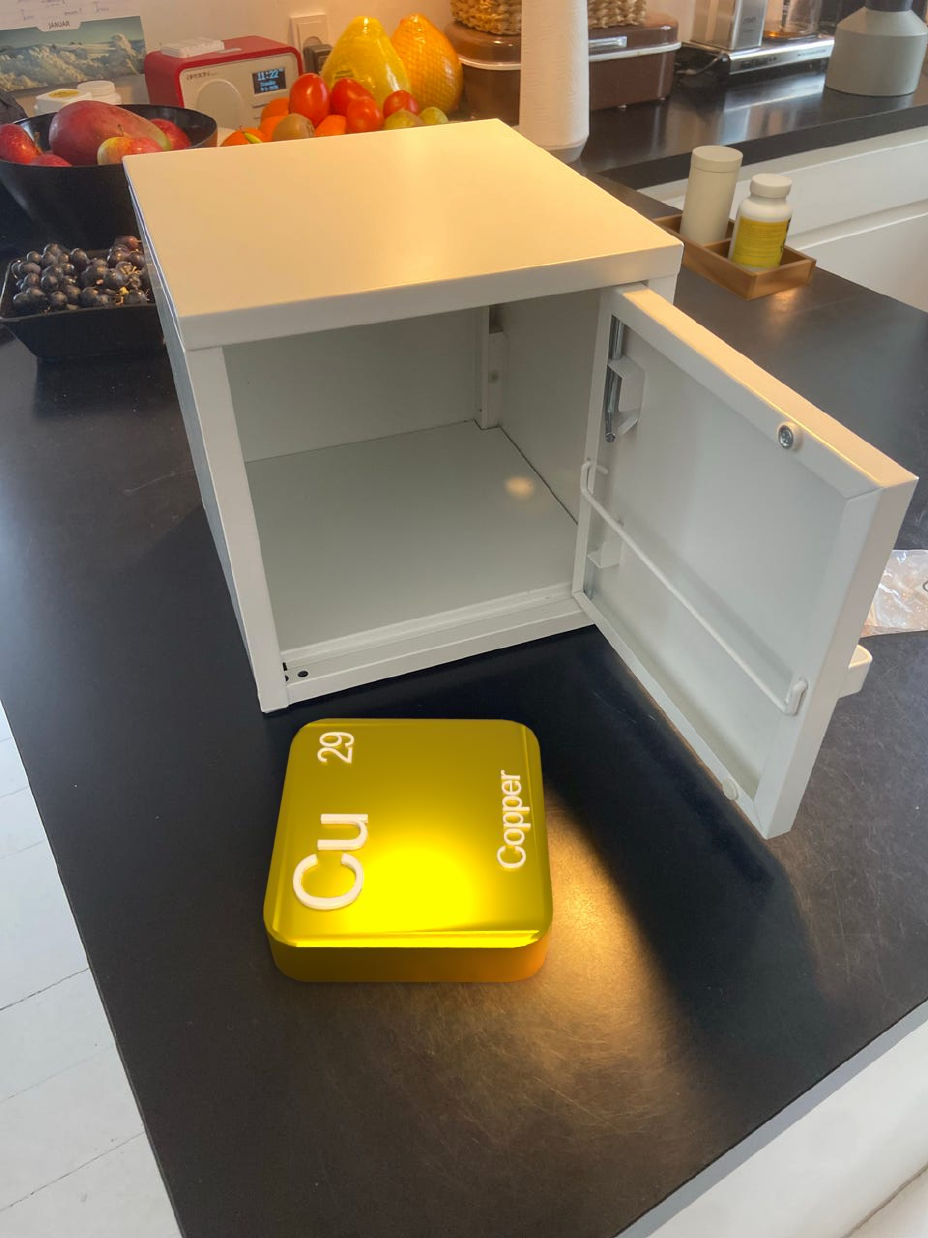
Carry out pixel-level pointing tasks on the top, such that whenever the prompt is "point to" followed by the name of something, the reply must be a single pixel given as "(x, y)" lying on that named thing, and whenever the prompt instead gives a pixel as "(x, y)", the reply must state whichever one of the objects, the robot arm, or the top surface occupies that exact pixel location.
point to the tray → (735, 278)
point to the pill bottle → (762, 223)
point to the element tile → (411, 853)
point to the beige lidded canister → (710, 193)
